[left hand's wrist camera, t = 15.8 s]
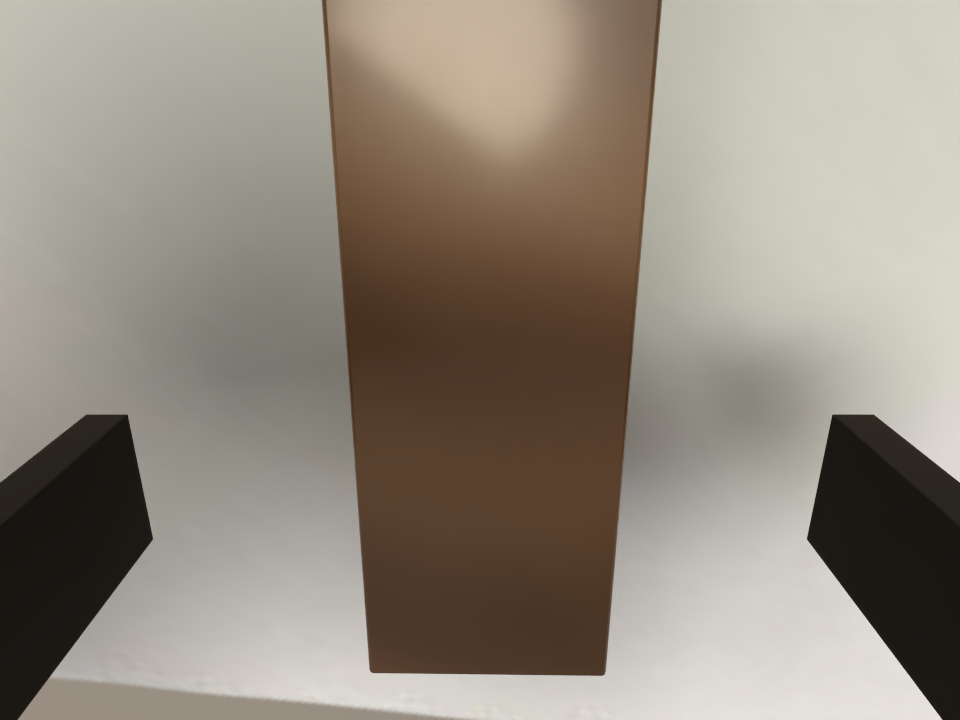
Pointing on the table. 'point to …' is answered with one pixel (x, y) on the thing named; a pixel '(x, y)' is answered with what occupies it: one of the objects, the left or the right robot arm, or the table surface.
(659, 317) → the table surface
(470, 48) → the bar
